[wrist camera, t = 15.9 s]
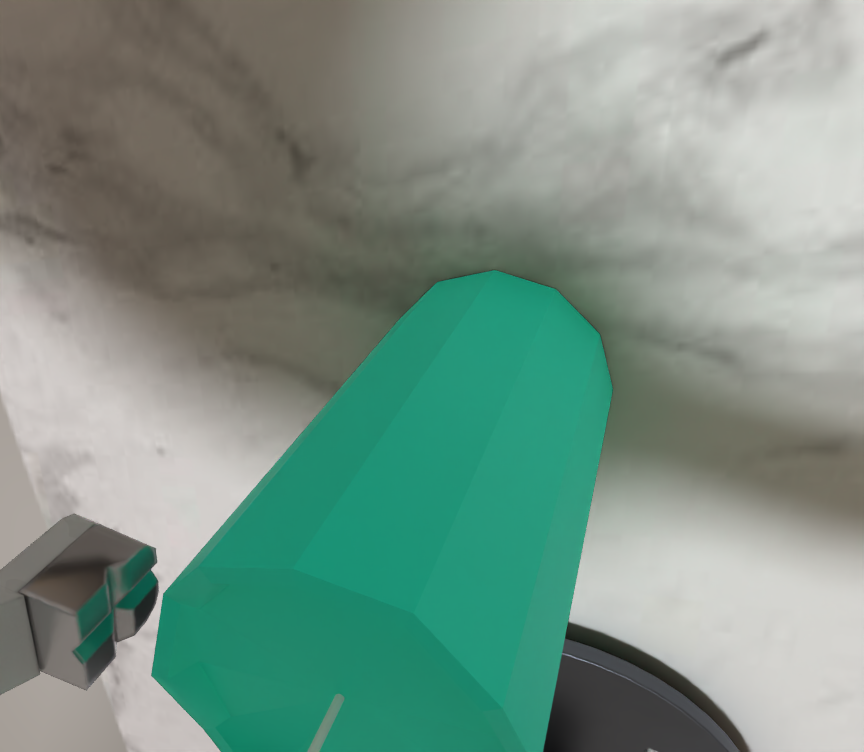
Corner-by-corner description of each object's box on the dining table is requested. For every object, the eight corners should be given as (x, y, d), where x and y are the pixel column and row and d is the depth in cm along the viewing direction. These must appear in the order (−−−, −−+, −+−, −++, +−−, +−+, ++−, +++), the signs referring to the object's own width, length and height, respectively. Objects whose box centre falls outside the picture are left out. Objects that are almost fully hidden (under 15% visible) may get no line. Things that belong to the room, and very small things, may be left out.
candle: (540, 227, 16) (306, 612, 6) (654, 431, 18) (607, 992, 8) (349, 327, 19) (-13, 697, 9) (462, 495, 21) (253, 964, 11)
